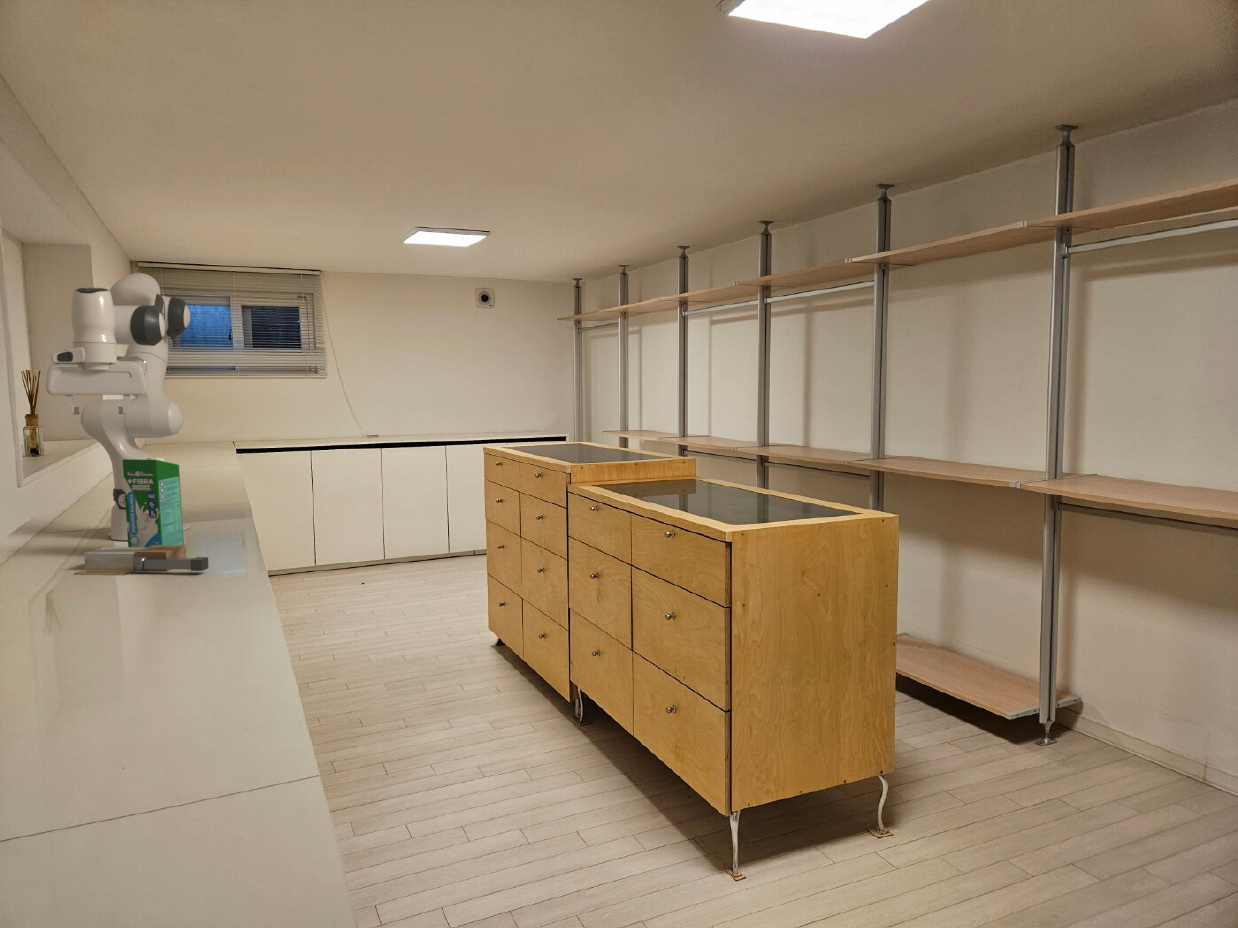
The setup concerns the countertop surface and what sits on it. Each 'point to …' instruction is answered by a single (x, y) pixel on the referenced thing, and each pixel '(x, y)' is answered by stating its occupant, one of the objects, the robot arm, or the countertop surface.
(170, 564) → the swing bar
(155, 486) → the milk carton
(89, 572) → the strike pad
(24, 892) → the countertop surface
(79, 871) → the countertop surface
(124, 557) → the door edge
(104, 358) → the robot arm
